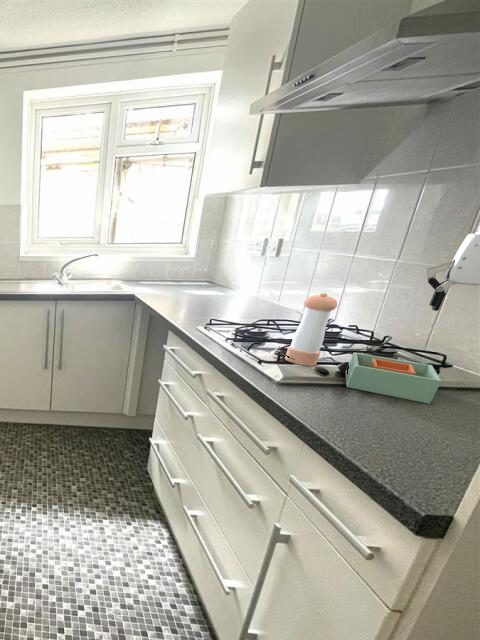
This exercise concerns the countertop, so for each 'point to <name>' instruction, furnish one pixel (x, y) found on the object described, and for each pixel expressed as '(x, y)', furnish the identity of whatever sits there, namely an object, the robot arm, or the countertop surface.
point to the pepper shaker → (311, 330)
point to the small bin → (392, 366)
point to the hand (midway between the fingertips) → (467, 312)
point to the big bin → (392, 379)
